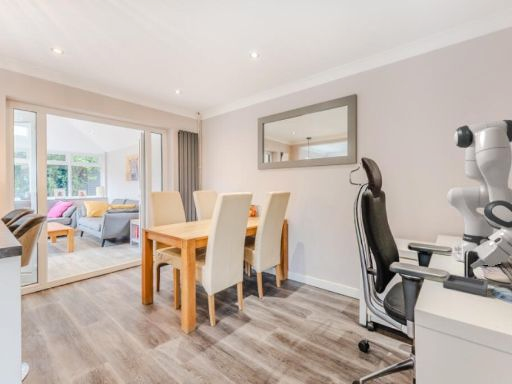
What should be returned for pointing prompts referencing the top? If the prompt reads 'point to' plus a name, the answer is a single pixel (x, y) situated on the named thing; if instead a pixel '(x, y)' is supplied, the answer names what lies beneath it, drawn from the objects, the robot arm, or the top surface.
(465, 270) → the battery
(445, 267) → the top surface
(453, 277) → the grey tray
